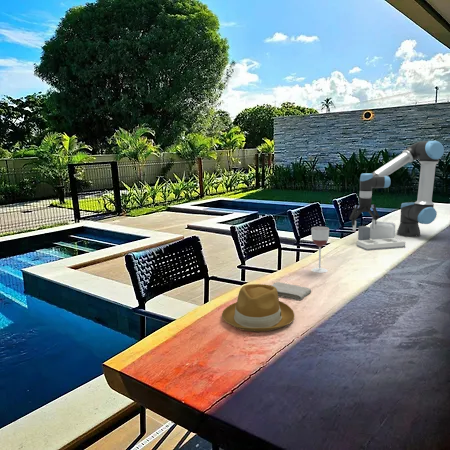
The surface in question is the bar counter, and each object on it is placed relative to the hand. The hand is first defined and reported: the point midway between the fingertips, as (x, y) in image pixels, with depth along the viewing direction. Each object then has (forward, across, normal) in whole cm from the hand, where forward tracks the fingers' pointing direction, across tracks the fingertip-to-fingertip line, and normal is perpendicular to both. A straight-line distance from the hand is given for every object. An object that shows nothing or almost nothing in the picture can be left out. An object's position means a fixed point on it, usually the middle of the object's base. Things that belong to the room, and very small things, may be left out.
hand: (363, 229), depth 260 cm
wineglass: (+10, +52, +49) cm, 72 cm away
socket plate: (+9, -4, +13) cm, 16 cm away
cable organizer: (+9, -16, -4) cm, 19 cm away
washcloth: (+11, +80, +76) cm, 110 cm away
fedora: (+11, +99, +98) cm, 140 cm away
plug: (+9, 0, 0) cm, 9 cm away
